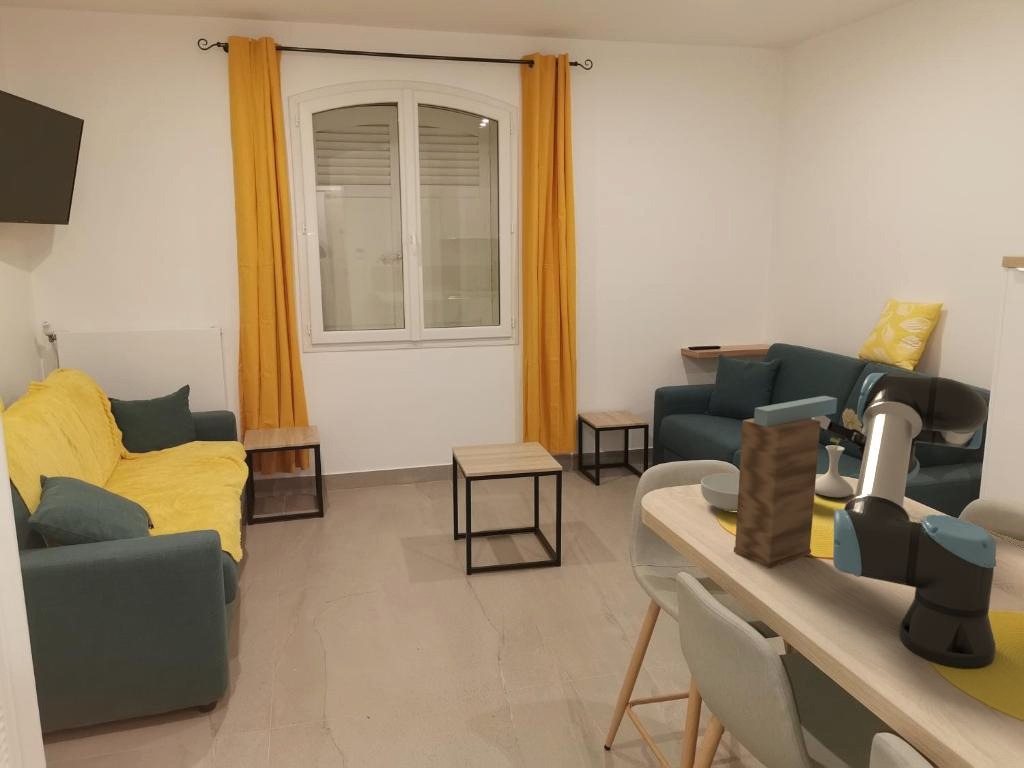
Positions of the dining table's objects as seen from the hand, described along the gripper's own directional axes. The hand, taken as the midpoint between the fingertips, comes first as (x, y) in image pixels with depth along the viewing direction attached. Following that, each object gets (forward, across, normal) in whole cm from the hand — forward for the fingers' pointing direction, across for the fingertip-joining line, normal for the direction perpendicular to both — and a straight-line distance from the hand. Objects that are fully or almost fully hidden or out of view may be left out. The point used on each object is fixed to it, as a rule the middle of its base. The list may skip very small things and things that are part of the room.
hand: (838, 421), depth 184 cm
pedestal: (+4, 0, -35) cm, 36 cm away
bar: (+15, 0, -5) cm, 16 cm away
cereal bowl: (-10, +26, -28) cm, 40 cm away
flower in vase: (-38, +18, -13) cm, 44 cm away
